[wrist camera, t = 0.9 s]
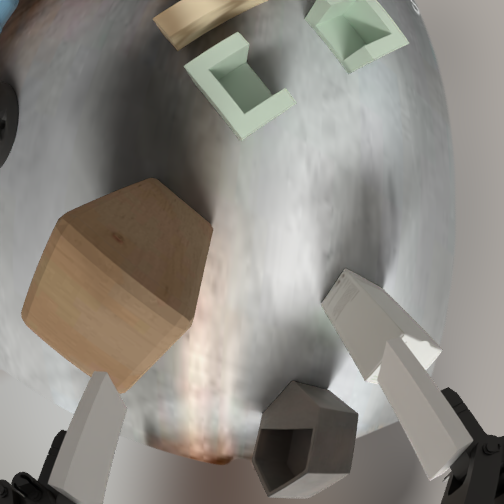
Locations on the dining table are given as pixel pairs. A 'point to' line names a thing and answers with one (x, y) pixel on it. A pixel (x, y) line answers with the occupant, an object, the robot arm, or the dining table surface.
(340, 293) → the skincare box
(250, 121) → the end caps
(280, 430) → the planter
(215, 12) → the slat
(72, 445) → the robot arm
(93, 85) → the dining table surface
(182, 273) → the wooden block
